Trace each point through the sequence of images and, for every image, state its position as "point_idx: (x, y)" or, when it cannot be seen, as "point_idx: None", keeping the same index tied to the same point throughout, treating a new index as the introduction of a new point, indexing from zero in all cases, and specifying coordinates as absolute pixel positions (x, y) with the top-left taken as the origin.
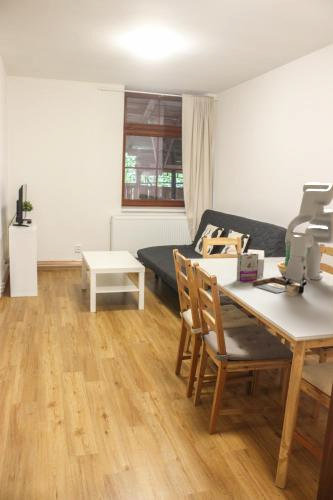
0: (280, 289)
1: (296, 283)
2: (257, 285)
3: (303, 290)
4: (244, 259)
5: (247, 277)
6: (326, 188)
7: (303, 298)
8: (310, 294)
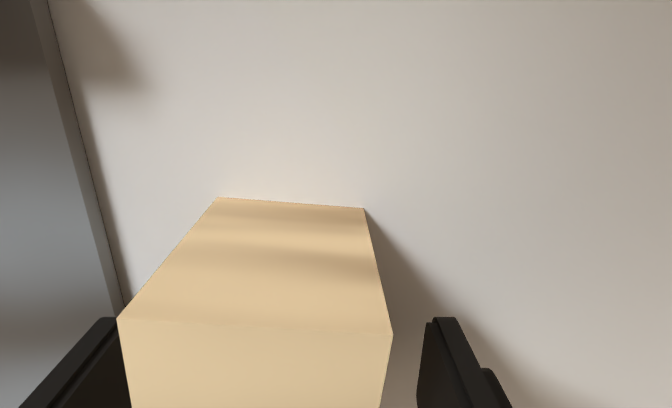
0: (18, 356)
1: (144, 360)
2: None
3: (500, 400)
4: None
5: None
6: None
7: (515, 382)
8: (490, 93)
